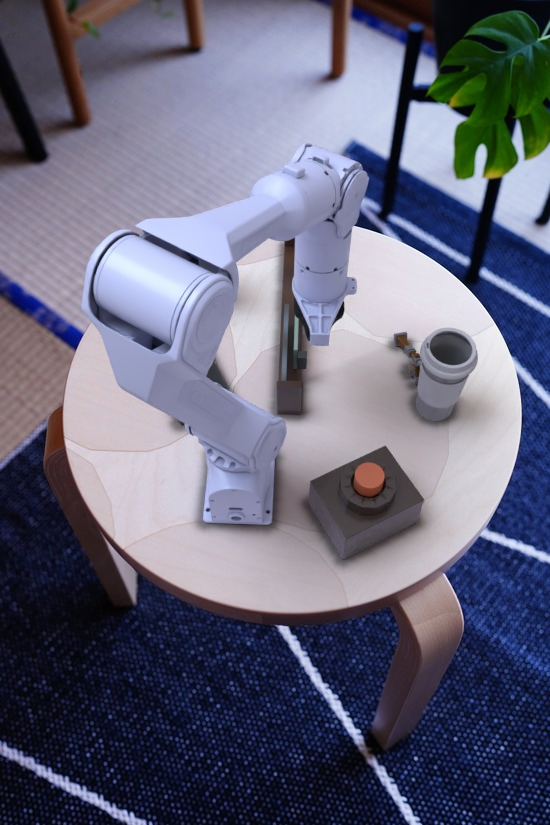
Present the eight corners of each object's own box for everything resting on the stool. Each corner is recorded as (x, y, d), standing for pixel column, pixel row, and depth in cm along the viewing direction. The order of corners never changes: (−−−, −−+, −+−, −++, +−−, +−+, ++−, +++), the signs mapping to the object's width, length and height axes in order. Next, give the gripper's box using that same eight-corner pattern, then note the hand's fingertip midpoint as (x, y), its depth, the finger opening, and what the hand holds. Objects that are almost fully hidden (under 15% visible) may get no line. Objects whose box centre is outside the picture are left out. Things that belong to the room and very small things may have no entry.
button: (363, 501, 84) (364, 492, 82) (347, 478, 85) (349, 469, 84) (388, 489, 85) (390, 480, 83) (372, 467, 86) (374, 457, 84)
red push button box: (342, 560, 88) (347, 531, 81) (308, 504, 92) (310, 472, 85) (417, 522, 90) (427, 492, 84) (380, 469, 94) (387, 436, 88)
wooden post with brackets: (413, 390, 99) (414, 359, 97) (393, 361, 106) (393, 332, 104) (427, 388, 100) (427, 357, 97) (406, 359, 106) (406, 330, 104)
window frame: (300, 415, 99) (301, 387, 94) (276, 414, 99) (276, 387, 94) (304, 246, 115) (305, 215, 110) (284, 246, 115) (284, 215, 110)
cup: (408, 381, 101) (422, 321, 91) (459, 385, 101) (479, 325, 91) (407, 427, 97) (421, 369, 88) (460, 431, 97) (481, 374, 87)
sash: (306, 374, 100) (307, 355, 97) (293, 374, 101) (293, 355, 97) (307, 297, 108) (308, 277, 105) (295, 297, 108) (296, 277, 105)
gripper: (362, 306, 77) (351, 387, 88) (358, 207, 85) (348, 292, 96) (291, 305, 77) (289, 385, 88) (293, 205, 85) (292, 291, 96)
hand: (316, 337), depth 92 cm, fingers closed
